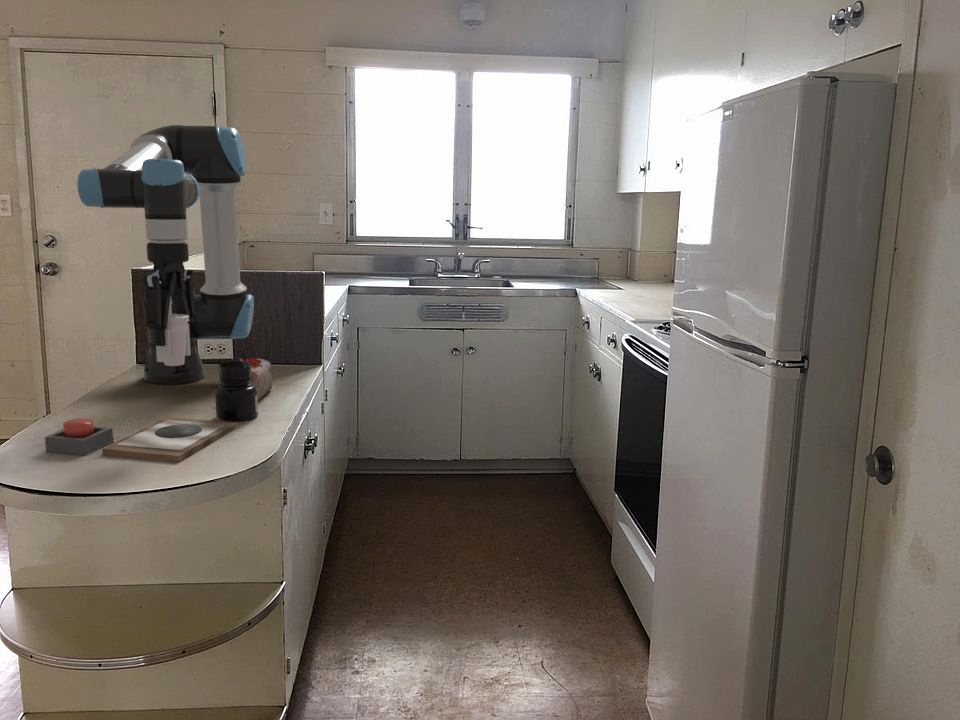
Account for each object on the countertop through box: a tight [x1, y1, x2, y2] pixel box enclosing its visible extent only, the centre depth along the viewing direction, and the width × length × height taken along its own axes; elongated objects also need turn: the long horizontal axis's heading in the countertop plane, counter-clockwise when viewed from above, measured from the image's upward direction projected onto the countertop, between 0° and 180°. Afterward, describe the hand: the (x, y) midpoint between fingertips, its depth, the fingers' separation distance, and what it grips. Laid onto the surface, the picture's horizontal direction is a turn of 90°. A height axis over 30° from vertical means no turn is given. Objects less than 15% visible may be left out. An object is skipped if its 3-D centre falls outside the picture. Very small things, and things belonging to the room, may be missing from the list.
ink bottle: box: [214, 360, 259, 422], centre depth 176 cm, size 10×9×12 cm
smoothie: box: [161, 297, 189, 366], centre depth 157 cm, size 6×6×14 cm
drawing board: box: [101, 416, 238, 463], centre depth 160 cm, size 22×16×2 cm
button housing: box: [44, 425, 114, 456], centre depth 155 cm, size 8×8×3 cm
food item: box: [238, 356, 273, 402], centre depth 193 cm, size 14×8×10 cm, turn 179°
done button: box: [62, 418, 95, 438], centre depth 154 cm, size 5×5×2 cm
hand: (174, 358), depth 158 cm, fingers closed on smoothie, 6 cm apart
